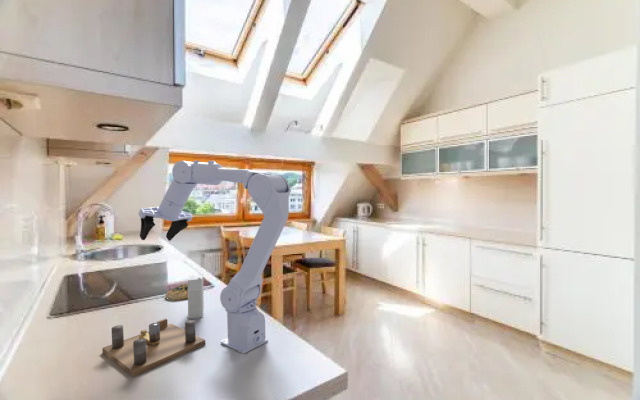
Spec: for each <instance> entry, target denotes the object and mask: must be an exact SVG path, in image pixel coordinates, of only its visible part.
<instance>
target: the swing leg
mask: <svg viewBox="0 0 640 400" xmlns="http://www.w3.org/2000/svg"><path fill="white" fill-rule="evenodd" d="M148 331H149V333H145V334H141V333H140V334H138V335H139V338H140V339H141V338H144V339H146V342H147V343H149V344H150V345H155V344H157V343H160V341H159V340H160V323H158V322H157V321H156V322H152V323H149V324H148Z"/></svg>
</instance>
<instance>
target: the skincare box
mask: <svg viewBox="0 0 640 400" xmlns="http://www.w3.org/2000/svg"><path fill="white" fill-rule="evenodd" d="M187 280H188V281H187V285H188V299H187V319H188V320H189V319H191V320H192V319H198V318H202V317H203V314H204V308H205V305H204V304H205V303H204V302H205V301H204V299H205V298H204V273H198V274H191V275H189V277H188V279H187Z"/></svg>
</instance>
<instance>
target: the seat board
mask: <svg viewBox="0 0 640 400" xmlns="http://www.w3.org/2000/svg"><path fill="white" fill-rule="evenodd" d="M156 322H158V323H160V340H159V341H160V343H157V344H155V345H150V344H149V343H147V342H146V339H144V338H141V339H140V338H139V335H140V334H145V333H149V330H147V329H143V330H140V334H137V335H134V336H131V337H128V338H126V339H124V338H125V337H124V325H122V324H120V325H119V324H117V325H114V326H112V327H111V344H110V345H107V346H104V347H101V348H102V350H101V351H102V354H103V355H105V356H106V357H107V358H109V359H110V360H111V361H113V362H114V363H115V364H116V365H117V366H119V367H121V369H123V370H124V371H125V372H127V374H129V375H130V376H132V377H133V378H135V377H136V376H139V375H142V373H145V372H148V371H150V370H153V369H154V368H156V367H158V366H161V365H163V364H165V363H167V362H170V361H172V360H174V359H176V358H179V357H181V356H183V355H186V354H188V353H190V352H192V351H194V350H196V349H199V348H201V347H203V346H206V339H205V338H202V337H200V336H198V335H196V334H197V333H196V320H193V319H191V320H186V321H185V322H184V329H183V328H181V327H179V326H177V325H174V324H173V323H168V319H167V318H163V319H160V320H157V321H156Z"/></svg>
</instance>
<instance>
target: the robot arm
mask: <svg viewBox="0 0 640 400" xmlns="http://www.w3.org/2000/svg"><path fill="white" fill-rule="evenodd" d="M171 173H172V180H171V182H170V184H169V186H168V188H167V190H166V192H165V194H164V195H163V198H162V200H161V202H160V204H159V206H153V207H152V206H151V207H146V208H145V207H141V208H140V209H139V211H138V216H139V217H140V223H141V224H140V233H139V238H140V239H141V241H145V240H146V239H147V237H148V236H149V233H150V232H151V231H152V229H153V227H155V226H156V223H155V222H154V221H155V219H161V220H165V221H168V222H171V224H170V226H169V228H168V231H167V233H166V235H165V237H166V238H167V240H168V241H170V242H171V240H173V238H174V237H176V236H177V235H178V234H179V233H180V232H182V231H183V230H184V229H187V228H188V225H189V223H190V222H191V221H192V219H193V218H194V216H193V215H192V213H191V212H187V211H183V209H184V207H185V205H186V203H187V201H188V199H189V198H190V195H191V194H192V192H193V190H194V189H195V188H196V186H197V185H198V184H199V185H207V186H208V185H209V186H218V185H220V184H221V183H222V182H230V183H231V182H232V183H239V184H242V186H243V188H244V190H247V192H248V194H249V197H251V199H252V200H253V202H254V203H255V205H257V207H258V208H259V210H260V211H261V213H262V215H263V219H262V220H261V223H260V224H259V226H258V229H257V231H256V234H255V236H254V239H253V241H252V243H251V244H250V247H249V250H248V252H247V254H246V256H245V258H244V260H243V262H242V264H241V267H240V268H239V271H238V272H237V273H236V274H235V275H234V276H233V277H232V278H231V279H230V280H229V282H228V284H227V285H226V286H225V287H224V288H223V289H222V290H221V292H220V295H219V298H220V303H221V306H222V307H223V308H224V309H225V312H226V317H227V322H226V323H227V337H226V338H224V339H222V340H220V344H223V345H224V346H226V347H229V348H231V349H233V350H235V351H237V352H239V353H242V354H246V353H249V352H250V351H252V350H254V349H256V348H258V347H259V346H261V345H263V344H265V343H267V342H268V341H269V339H268V338H266V318H265V315H264V314H263V313H262V312H261V311H259V309H258V307H257V303H258V302H257V300H258V298H259V297H260V296H261V293H262V283H263V282H264V279H263V278H262V274H263V272H264V270H265V268H266V265H267V264H268V261H269V259H270V257H271V255H272V253H273V251H274V248H275V247H276V244H277V242H278V241H279V238H280V237H281V234H282V232H283V229H284V227H285V225H286V223H287V222H288V219H289V216H290V215H289V214H290V213H289V212H290V211H289V210H290V209H289V208H290V205H289V203H290V202H289V200H290V199H289V197H290V194H291V192H292V189H291V187H290V185H289V182H288V181H287V178H286V177H284V176H283V175H281V174H272V173H271V172H268V171H267V172H266V171H262V170H261V171H260V170H256V169H246V168H245V169H244V168H243V169H242V168H241V169H239V168H223V166H222V165H221V164H220V163H216V161H215V160H208V161H207V162H201V160H193V161H186V160H179V161H177V162H175V164H173V166H172V172H171ZM154 218H155V219H154ZM188 222H189V223H188Z"/></svg>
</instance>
